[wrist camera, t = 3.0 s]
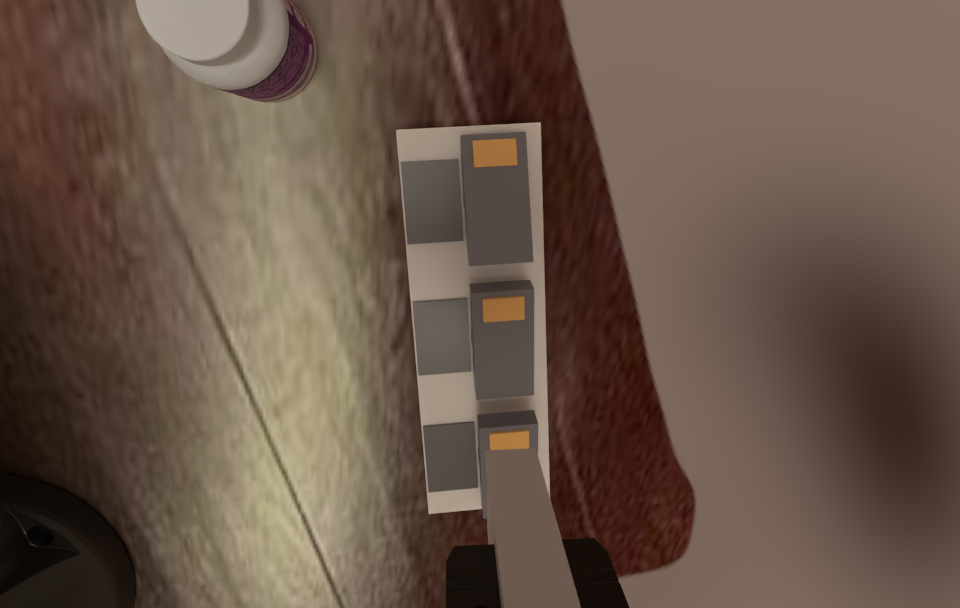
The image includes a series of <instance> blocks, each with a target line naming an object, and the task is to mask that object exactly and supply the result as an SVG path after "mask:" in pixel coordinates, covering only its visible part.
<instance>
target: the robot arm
mask: <svg viewBox="0 0 960 608" xmlns="http://www.w3.org/2000/svg"><path fill="white" fill-rule="evenodd" d="M486 482H487V531H488V541H489V545H469V546H455V547H454V548H453V550H452V552H451V554H450V555H449V557H448V559H447V560H446V608H629V606H628V603H627V601H626V598H625V595H624V593H623V590H622V588H621V585H620V583H619V581H618V577H617V575H616V572H615V570H614V568H613V565H612V562H611V559H610V557H609V554H608V552H607V550H606V549H604V548H603V547H602V546H601V545H600V544H599V543H598V542H597V541H596V540H595V539H594V538H586V539H565V540H562V539H561V536H560V532H559V528H558V525H557V521H556V518H555V514H554V511H553V507H552V504H551V500H550V497H549V493H548V490H547V486H546V483H545V479H544V476H543V472H542V468H541V465H540V461H539V458H538V454H537V451H536V448H529V449H504V450H486ZM134 597H135V582H134V574H133V569H132V566H131V563H130V560H129V557H128V555H127V553H126V550H125V548H124V546H123V545H122V543H121V541H120V540H119V538H118V537H117V535H116V534H115V532H114V531H113V530H112V529H111V528H110V526H109V525H108V524H107V523H106V522H105V521H104V520H103V519H102V518H101V517H100V516H99V515H98V514H97V513H96V512H94V511H93V510H92V509H91V508H89V507H88V506H87V505H85V504H84V503H83V502H81V501H80V500H78V499H76V498H75V497H73V496H71V495H70V494H68V493H66V492H64V491H62V490H60V489H57V488H55V487H53V486H50V485H48V484H45V483H42V482H39V481H36V480H32V479H28V478H24V477H19V476H13V475H6V474H0V608H133V604H134Z"/></svg>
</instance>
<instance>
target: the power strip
mask: <svg viewBox="0 0 960 608" xmlns="http://www.w3.org/2000/svg"><path fill="white" fill-rule="evenodd" d="M512 132H526V142H527V159H528V176H529V193H530V210H531V227H532V244H533V261H534V262H527V263H513V264H498V265H483V266H468V253H467V238H466V223H465V209H464V194H463V179H462V165H461V150H460V137H461V135H473V134H493V133H512ZM396 137H397V148H398V160H399V172H400V183H401V195H402V207H403V218H404V230H405V242H406V253H407V265H408V277H409V289H410V300H411V312H412V324H413V335H414V347H415V359H416V370H417V382H418V394H419V405H420V417H421V429H422V441H423V452H424V464H425V476H426V487H427V499H428V511H429V514H434V513H444V512H455V511H465V510H475V509H482V505H481V488H480V466H479V445H478V423H477V415H480V414H492V413H504V412H515V411H527V410H534V411H535V415H536V418H537V421H538V458H539V461H540V465H541V468H542V472H543V476H544V479H545V483H546V486H547V490H548V493H549V497H550V480H549V439H548V399H547V358H546V317H545V276H544V236H543V195H542V154H541V122H539V123H519V124H500V125H480V126H460V127H441V128H421V129H402V130H396ZM516 280H530V281H531V283H532V285H533V287H534V395H532V396H520V397H509V398H497V399H485V400H476V394H475V388H474V369H473V348H472V327H471V306H470V285H469V284H473V283H487V282H502V281H516Z"/></svg>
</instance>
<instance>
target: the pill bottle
mask: <svg viewBox="0 0 960 608" xmlns="http://www.w3.org/2000/svg"><path fill="white" fill-rule="evenodd" d="M136 6H137V10H138V13H139V16H140V19H141V21H142V23H143V25H144V27H145V28H146V30H147V31H148V33H149V34H150V35H151V37H152V38H153V39H154V40H155V41H156V42H157V43H158V44H159V45H160V46H161V48H162V49H163V51H164V52H165V54H166V55H167V57H168V58H169V59H170V60H171V61H172V63H173V64H174V65H175V66H176V67H177V68H179V69H180V70H181V71H182V72H183V73H185V74H186V75H187V76H189V77H190V78H192V79H194V80H196V81H197V82H200V83H202V84H204V85H207V86H210V87H212V88H215V89H219V90H222V91H226V92H229V93H233V94H236V95H239V96H242V97H245V98H248V99H251V100H255V101H260V102H279V101H283V100H286V99H288V98H290V97H292V96H294V95H296V94H297V93H299V92H300V91H301V90H302V89H303V88H304V87H305V86H306V85H307V83H308V82H309V80H310V78H311V76H312V74H313V72H314V69H315V65H316V60H317V46H316V41H315V37H314V34H313V31H312V29H311V26H310V24H309V23H308V21H307V19H306V18H305V16H304V15H303V14H302V12H301V11H300V10H299V9H298V8H297V6H296V5H295V4H294V3H293V2H292V1H291V0H136Z"/></svg>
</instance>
